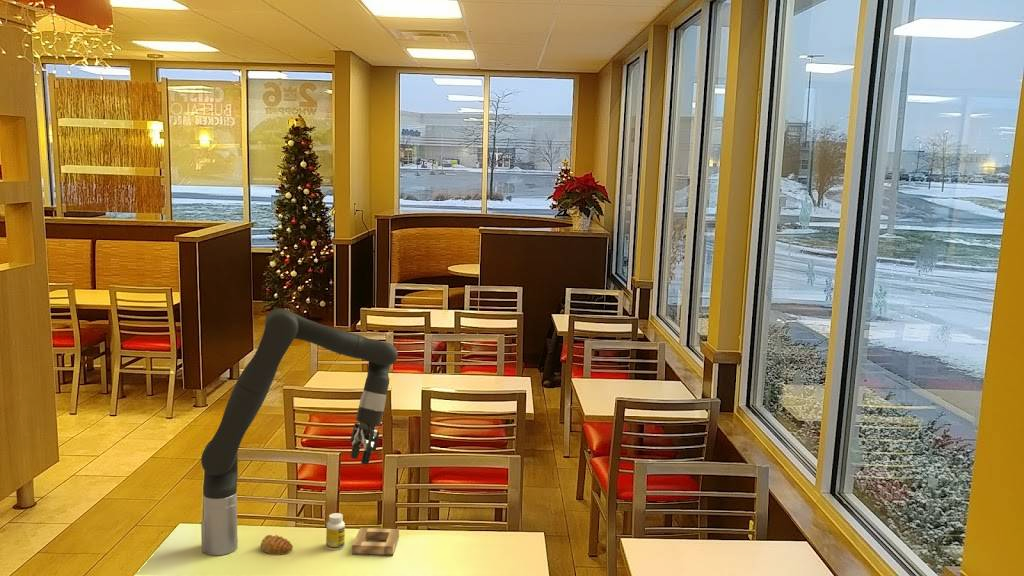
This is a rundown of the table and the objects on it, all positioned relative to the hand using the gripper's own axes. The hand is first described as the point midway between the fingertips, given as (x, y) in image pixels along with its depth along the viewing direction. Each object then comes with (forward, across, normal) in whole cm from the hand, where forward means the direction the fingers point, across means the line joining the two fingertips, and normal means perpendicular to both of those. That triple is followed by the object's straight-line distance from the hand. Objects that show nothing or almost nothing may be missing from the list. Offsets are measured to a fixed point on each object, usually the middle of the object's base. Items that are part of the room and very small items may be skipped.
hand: (359, 461), depth 239 cm
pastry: (+31, -12, -14) cm, 36 cm away
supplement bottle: (+27, -5, +1) cm, 27 cm away
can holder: (+24, +1, +11) cm, 27 cm away
